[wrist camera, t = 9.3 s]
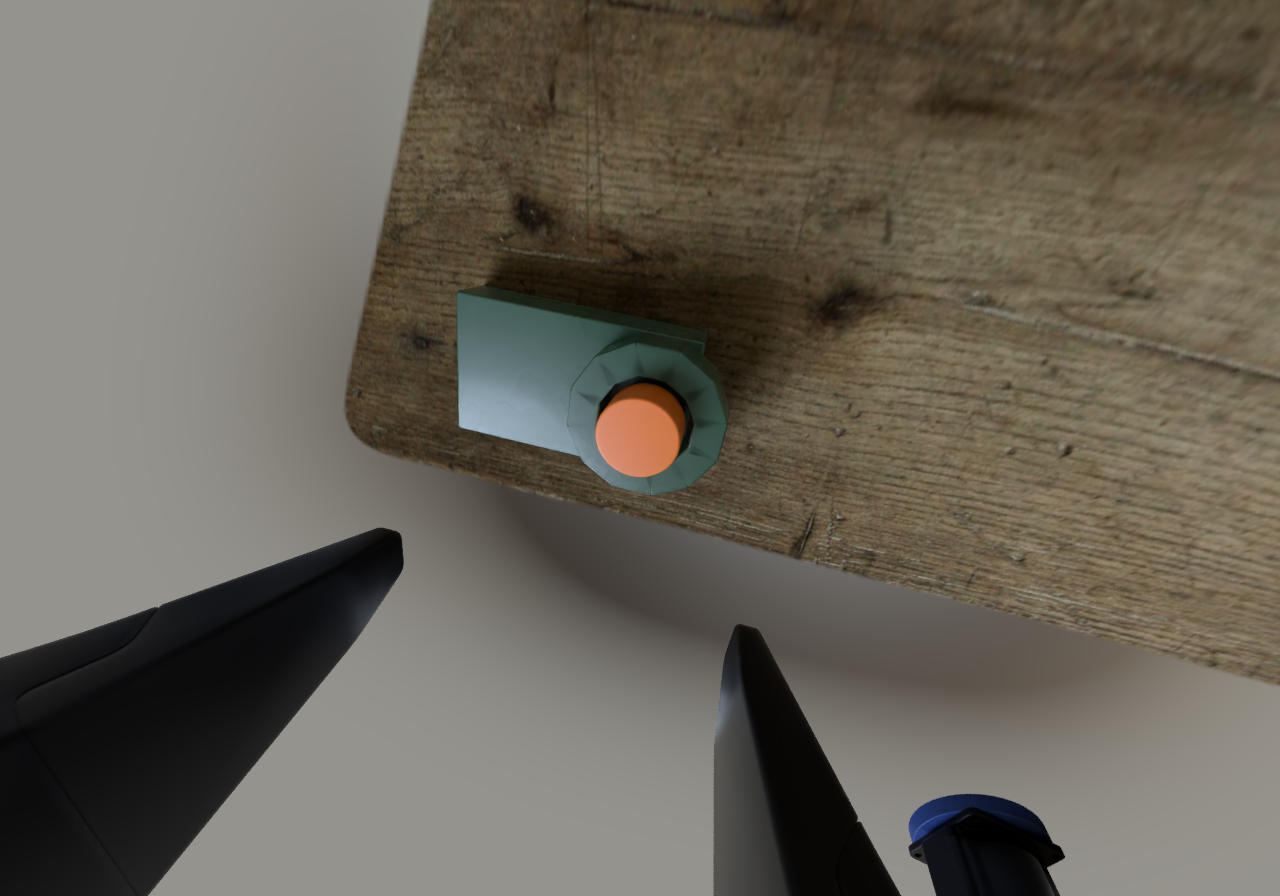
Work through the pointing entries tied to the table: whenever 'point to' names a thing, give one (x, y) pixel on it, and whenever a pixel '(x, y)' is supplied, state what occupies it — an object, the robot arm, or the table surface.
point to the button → (641, 430)
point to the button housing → (581, 378)
